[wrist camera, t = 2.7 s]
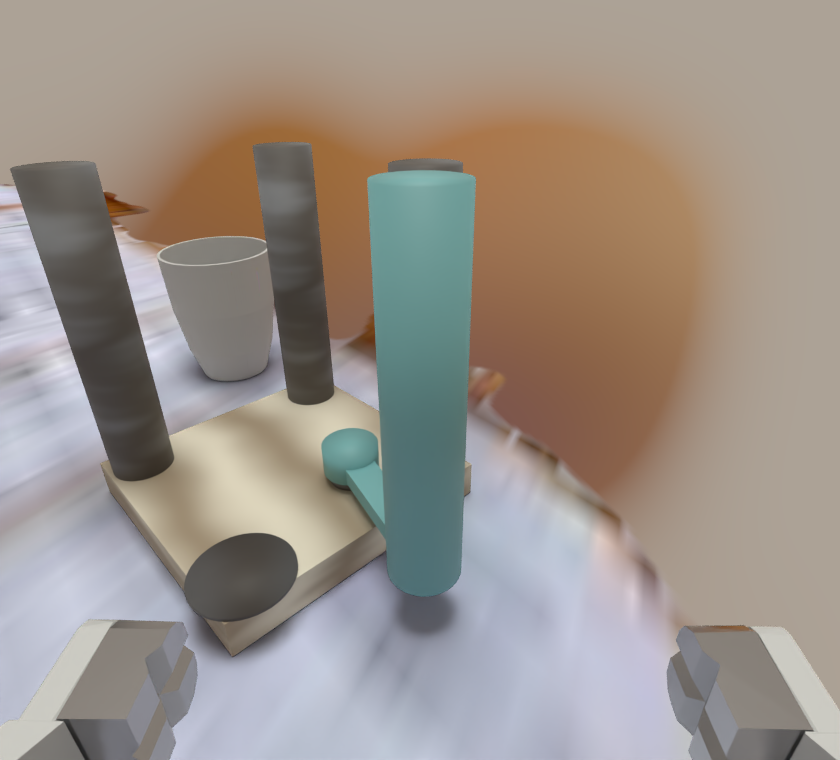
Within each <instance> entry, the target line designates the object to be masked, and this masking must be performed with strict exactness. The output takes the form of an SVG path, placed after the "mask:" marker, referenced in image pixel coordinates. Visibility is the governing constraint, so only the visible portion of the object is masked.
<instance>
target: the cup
mask: <svg viewBox="0 0 840 760" xmlns="http://www.w3.org/2000/svg"><path fill="white" fill-rule="evenodd" d="M157 259H158V262H159V265H160V269H161V272H162V275H163V278H164V282H165V285H166V288H167V292H168V295H169V298H170V301H171V305H172V308H173V311H174V313H175V315H176V318H177V320H178V322H179V325H180V327H181V329H182V332H183V334H184V336H185V339H186V341H187V343H188V345H189V348H190V350H191V351H192V353H193V355H194V356H195V358H196V359H197V361H198V363H199V364H200V366H201V367H202V369H203V371H204V372H205V374H206V375H207V376H208V377H209V378H211V379H214V380H218V381H237V380H243V379H247V378H250V377H253V376H255V375H257V374H259V373H261V372H262V371H263V370H264V369H265V368H266V366H267V363H268V357H269V352H270V347H271V341H272V333H273V304H274V295H273V287H272V280H271V273H270V266H269V259H268V252H267V245H266V241H264V240H261V239H257V238H252V237H241V236H240V237H239V236H224V237H223V236H222V237H209V238H201V239H195V240H189V241H185V242H181V243H177V244H174V245H171V246H169V247H166V248H164V249H162V250H161V251H160V252H159V253H158V254H157Z"/></svg>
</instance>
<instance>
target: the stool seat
mask: <svg viewBox="0 0 840 760" xmlns="http://www.w3.org/2000/svg"><path fill="white" fill-rule="evenodd" d="M253 152H254V160H255V166H256V173H257V180H258V187H259V194H260V202H261V209H262V216H263V223H264V230H265V238H266V245H267V252H268V259H269V266H270V273H271V280H272V287H273V295H274V302H275V309H276V316H277V323H278V330H279V337H280V344H281V351H282V358H283V366H284V373H285V380H286V387H287V389H284V390H282V391H279V392H277V393H274V394H272V395H269V396H267V397H264V398H262V399H259V400H257V401H254V402H252V403H250V404H247V405H245V406H242V407H240V408H237V409H235V410H232V411H230V412H227V413H225V414H222V415H220V416H217V417H215V418H212V419H210V420H207V421H205V422H202V423H200V424H197V425H195V426H192V427H190V428H187V429H185V430H182V431H180V432H177V433H175V434H172V435H170V436H169V435H168V431H167V427H166V424H165V420H164V416H163V413H162V409H161V405H160V401H159V398H158V394H157V390H156V387H155V383H154V379H153V376H152V372H151V368H150V364H149V361H148V357H147V353H146V350H145V346H144V342H143V338H142V335H141V331H140V327H139V324H138V320H137V316H136V312H135V309H134V305H133V301H132V298H131V294H130V290H129V286H128V283H127V279H126V275H125V272H124V268H123V264H122V260H121V257H120V253H119V249H118V246H117V242H116V238H115V234H114V231H113V227H112V223H111V220H110V216H109V212H108V208H107V205H106V201H105V197H104V194H103V190H102V186H101V183H100V179H99V175H98V172H97V168H96V164H95V163H94V162H89V161H62V162H46V163H35V164H27V165H21V166H16V167H12V168H11V169H10V170H11V173H12V176H13V179H14V182H15V185H16V188H17V191H18V194H19V197H20V200H21V203H22V206H23V209H24V211H25V214H26V217H27V220H28V223H29V226H30V229H31V232H32V235H33V238H34V241H35V244H36V247H37V250H38V253H39V256H40V259H41V261H42V264H43V267H44V270H45V273H46V276H47V279H48V282H49V285H50V288H51V291H52V294H53V297H54V300H55V303H56V306H57V309H58V312H59V314H60V317H61V320H62V323H63V326H64V329H65V332H66V335H67V338H68V341H69V344H70V347H71V350H72V353H73V356H74V359H75V362H76V365H77V367H78V370H79V373H80V376H81V379H82V382H83V385H84V388H85V391H86V394H87V397H88V400H89V403H90V406H91V409H92V412H93V415H94V418H95V420H96V423H97V426H98V429H99V432H100V435H101V438H102V441H103V444H104V447H105V450H106V453H107V456H108V459H109V460H107V461H105V462H102V463H100V464H101V467H102V470H103V473H104V476H105V479H106V482H107V484H108V487H109V490H110V492H111V493H112V495H113V496H114V497H115V499H116V500H117V501H118V503H119V504H120V505H121V507H122V508H123V509H124V511H125V512H126V514H127V515H128V516H129V518H130V519H131V520H132V522H133V523H134V524H135V526H136V527H137V528H138V530H139V531H140V532H141V534H142V535H143V537H144V538H145V539H146V541H147V542H148V543H149V545H150V546H151V547H152V549H153V550H154V551H155V553H156V554H157V555H158V557H159V558H160V560H161V561H162V562H163V564H164V565H165V566H166V568H167V569H168V570H169V572H170V573H171V574H172V576H173V577H174V578H175V580H176V581H177V583H178V584H179V585H180V587H181V588H182V589H183V591H184V593H185V597H186V600H187V603H188V604H189V606H190V607H191V609H192V610H193V611H194V612H195V613H197V614H198V615H200V616H202V617H203V618H204V619H205V620H206V622H207V623H208V624H209V626H210V627H211V629H212V630H213V631H214V633H215V634H216V635H217V637H218V638H219V639H220V641H221V642H222V643H223V645H224V646H225V647H226V649H227V650H228V652H229V653H230V654H231V656H232V657H233V656H235V655H236V654H238V653H239V652H241V651H242V650H244V649H245V648H246V647H248V646H249V645H251V644H252V643H254V642H255V641H256V640H258V639H259V638H261V637H262V636H264V635H265V634H267V633H268V632H269V631H271V630H272V629H274V628H275V627H277V626H278V625H280V624H281V623H282V622H284V621H285V620H287V619H288V618H290V617H291V616H292V615H294V614H295V613H297V612H298V611H300V610H301V609H303V608H304V607H305V606H307V605H308V604H310V603H311V602H313V601H314V600H316V599H317V598H318V597H320V596H321V595H323V594H324V593H326V592H327V591H328V590H330V589H331V588H333V587H334V586H336V585H337V584H339V583H340V582H341V581H343V580H344V579H346V578H347V577H349V576H350V575H351V574H353V573H354V572H356V571H357V570H359V569H360V568H362V567H363V566H364V565H366V564H367V563H369V562H370V561H372V560H373V559H375V558H376V557H377V556H379V555H380V554H382V553H383V552H385V551H386V540H385V538H384V537H383V535H382V534H381V532H380V531H379V529H378V528H377V527H376V525H375V524H374V522H373V521H372V519H371V518H370V517H369V515H368V514H367V512H366V511H365V509H364V508H363V506H362V505H361V504H360V502H359V501H358V499H357V498H356V496H355V495H354V493H353V492H352V491H351V489H350V488H349V486H348V485H339V484H336V483H333V482H331V481H330V480H329V479H327V477H326V476H325V474H324V467H323V458H322V450H321V444H322V441H323V440H324V439H325V437H327V436H328V435H329V434H331V433H333V432H335V431H338V430H341V429H346V428H360V429H365V430H368V431H370V432H372V433H373V434H374V435H375V436H376V437H377V439H378V450H379V467H380V469H381V470H382V456H381V436H380V416H379V411H378V410H376V409H374V408H372V407H371V406H369V405H367V404H365V403H364V402H362V401H360V400H358V399H357V398H355V397H353V396H351V395H350V394H348V393H346V392H345V391H343V390H341V389H339V388H338V387H336V386H334V382H333V371H332V361H331V350H330V340H329V329H328V318H327V308H326V297H325V287H324V276H323V265H322V255H321V244H320V234H319V223H318V212H317V202H316V192H315V180H314V170H313V159H312V149H311V144H310V143H302V142H276V143H263V144H257V145H253ZM413 170H436V171H452V172H460V173H463V163H462V162H460V161H456V160H449V159H406V160H398V161H393V162H390V163H388V172H396V171H413ZM470 487H471V464H470V463H468V462H467V461H465V478H464V496H465V495H467V494H468V493H470Z"/></svg>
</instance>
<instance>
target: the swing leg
mask: <svg viewBox="0 0 840 760" xmlns="http://www.w3.org/2000/svg"><path fill="white" fill-rule="evenodd" d="M367 180H368V200H369V220H370V238H371V258H372V278H373V298H374V318H375V338H376V357H377V377H378V397H379V416H380V436H381V456H382V470H381V469H380V467H379V450H378V439H377V437H376V436H375V435H374V434H373V433H372V432H370V431H368V430H365V429H360V428H346V429H341V430H338V431H335V432H333V433H331V434H329V435H328V436H327V437H325V439H324V440H323V441H322V444H321V450H322V458H323V467H324V474H325V476H326V477H327V479H329V480H330V481H331V482H333V483H336V484H339V485H348V486H349V488H350V489H351V491H352V492H353V493H354V495H355V496H356V498H357V499H358V501H359V502H360V504H361V505H362V506H363V508H364V509H365V511H366V512H367V514H368V515H369V517H370V518H371V519H372V521H373V522H374V524H375V525H376V527H377V528H378V529H379V531H380V532H381V534H382V535H383V537H384V538H385V540H386V554H387V571H388V575H389V578H390V580H391V581H392V583H393V584H394V585H395V586H396V587H397V588H398V589H400V590H401V591H403V592H405V593H408V594H410V595H414V596H422V597H426V596H434V595H438V594H441V593H443V592H445V591H447V590H448V589H450V588H451V587H452V586H453V585H454V584H455V583H456V582H457V580H458V579H459V576H460V573H461V558H462V531H463V504H464V478H465V451H466V424H467V398H468V371H469V343H470V318H471V316H470V315H471V290H472V262H473V238H474V211H475V184H476V178H475V177H474V176H472V175H470V174H465V173H460V172H452V171H436V170H413V171H396V172H388V173H382V174H377V175H373V176H370V177H369V178H368V179H367Z"/></svg>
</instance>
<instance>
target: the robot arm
mask: <svg viewBox="0 0 840 760" xmlns="http://www.w3.org/2000/svg"><path fill="white" fill-rule="evenodd" d="M187 637H188V633H187V631H186V628H185V626H184V623H183V622H164V621H133V620H91V619H89V620H87V621H86V622H85V623H84V624H83V625H81V626H80V627H79V628H78V629H77V631H76V632H75V634H74V635H73V637H72V638H71V640H70V641H69V643H68V644H67V646H66V648H65V649H64V651H63V652H62V654H61V655H60V657H59V658H58V660H57V661H56V663H55V664H54V666H53V668H52V669H51V671H50V672H49V674H48V675H47V677H46V678H45V680H44V681H43V683H42V684H41V686H40V687H39V689H38V691H37V692H36V694H35V695H34V697H33V698H32V700H31V701H30V703H29V704H28V706H27V707H26V709H25V711H24V712H23V714H22V715H21V717H20V718H19V720H8V721H7V722H6V723H4V724H3V725H2V726H0V760H169V759H170V757H171V754H172V752H173V749H174V747H175V744H176V741H175V737H174V733H173V729H172V728H173V727H174V726H175V725H176V724H177V723H178V722H179V721H180V720H181V719H182V718H183V717H184V716H185V715H186V714H187V713H188V710H189V708H190V705H191V702H192V699H193V697H194V693H195V687H196V682H197V676H198V675H197V661H196V658H195V654H194V652H192V651H191V650H190V649H188V648H187V647H186V646H184V644H185V642H186V639H187ZM676 642H677V644H678V646H679V649H680V652H678V653H677V654H675V655H674V656H673V657H671V658H670V661H669V665H668V669H667V686H668V693H669V697H670V701H671V705H672V708H673V710H674V713H675V716H676V719H677V721H678V722H679V723H680V724H681V725H682V726H683V727H684V728H685V729H686V730H687V731H689V732H690V733H691V734H692V735H693V737H692V740H691V744H690V747H689V753H690V756H691V758H692V760H840V710H839V708H838V707H837V705H836V704H835V702H834V701H833V699H832V698H831V696H830V695H829V693H828V691H827V690H826V688H825V687H824V685H823V684H822V682H821V681H820V679H819V678H818V676H817V674H816V673H815V672H814V670H813V668H812V667H811V665H810V664H809V662H808V661H807V659H806V658H805V656H804V655H803V653H802V652H801V650H800V648H799V647H798V645H797V644H796V642H795V641H794V639H793V638H792V636H791V635H790V633H789V632H788V631H786V630H785V629H784V628H783V627H777V626H759V627H758V626H757V627H755V626H754V627H746V626H744V625H737V626H684V627H683V628H681V629H680V630H679V633H678V636H677V639H676Z"/></svg>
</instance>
